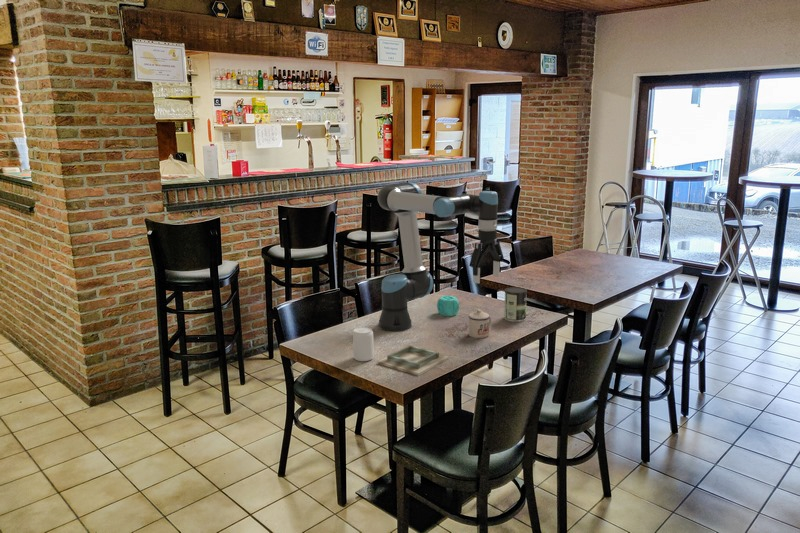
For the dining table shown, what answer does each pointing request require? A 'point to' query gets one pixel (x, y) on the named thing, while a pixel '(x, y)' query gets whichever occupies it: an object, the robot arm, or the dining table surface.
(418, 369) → the board
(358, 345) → the beverage can
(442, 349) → the dining table surface
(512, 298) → the coffee can
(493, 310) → the dining table surface
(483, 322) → the teacup with lid
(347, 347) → the dining table surface
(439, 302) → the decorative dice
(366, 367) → the dining table surface
